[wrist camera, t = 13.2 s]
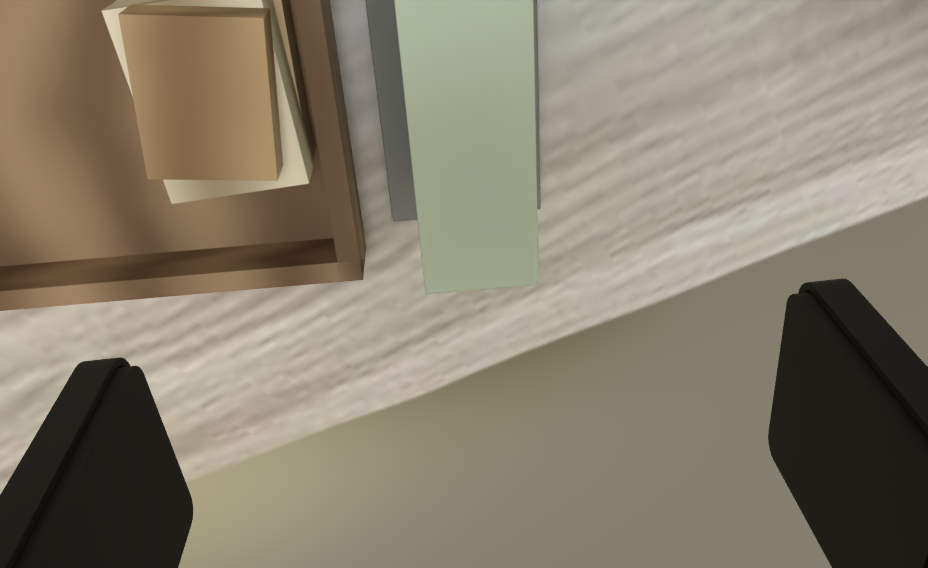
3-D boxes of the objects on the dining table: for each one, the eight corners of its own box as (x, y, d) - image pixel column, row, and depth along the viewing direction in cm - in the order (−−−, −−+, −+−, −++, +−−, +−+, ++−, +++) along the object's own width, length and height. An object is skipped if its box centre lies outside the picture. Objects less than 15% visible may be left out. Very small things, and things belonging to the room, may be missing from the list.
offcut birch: (266, -25, 30) (258, -14, 28) (314, 163, 34) (309, 183, 32) (119, -2, 30) (101, 10, 28) (183, 183, 34) (171, 204, 32)
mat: (532, -181, 30) (533, -181, 30) (539, 205, 38) (540, 208, 38) (345, -167, 30) (344, -166, 29) (393, 217, 38) (393, 221, 38)
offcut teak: (269, 8, 28) (263, 18, 27) (282, 165, 31) (277, 181, 30) (131, 4, 28) (118, 14, 27) (158, 163, 31) (147, 179, 30)
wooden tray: (298, -211, 29) (285, -212, 26) (365, 248, 39) (362, 285, 36) (-232, -171, 29) (-307, -167, 26) (-28, 281, 39) (-64, 322, 36)
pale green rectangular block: (497, -119, 30) (531, -87, 22) (508, 171, 37) (538, 284, 28) (392, -110, 30) (386, -75, 22) (422, 179, 37) (425, 294, 28)
